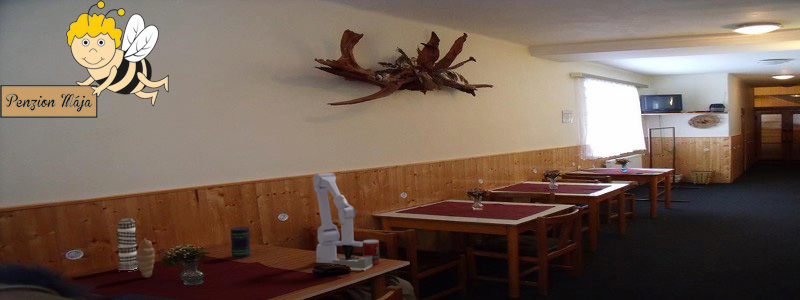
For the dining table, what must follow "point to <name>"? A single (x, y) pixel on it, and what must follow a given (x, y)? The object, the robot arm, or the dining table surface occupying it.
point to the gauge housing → (356, 262)
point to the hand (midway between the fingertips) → (348, 261)
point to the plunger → (353, 258)
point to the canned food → (371, 250)
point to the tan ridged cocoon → (146, 257)
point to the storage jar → (240, 242)
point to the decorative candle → (127, 244)
